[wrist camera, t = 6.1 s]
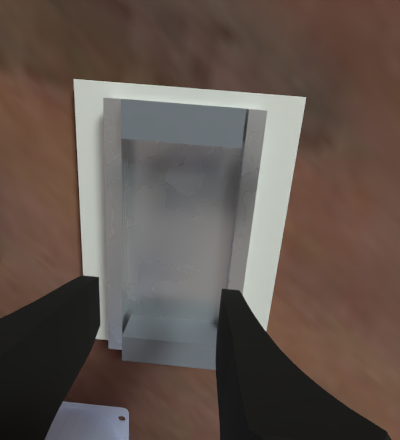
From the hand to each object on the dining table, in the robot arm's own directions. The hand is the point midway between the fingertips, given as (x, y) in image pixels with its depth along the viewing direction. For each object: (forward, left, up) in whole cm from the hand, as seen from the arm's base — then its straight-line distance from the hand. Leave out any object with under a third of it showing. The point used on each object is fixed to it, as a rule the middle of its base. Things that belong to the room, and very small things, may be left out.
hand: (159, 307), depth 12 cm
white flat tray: (0, 0, -8) cm, 8 cm away
